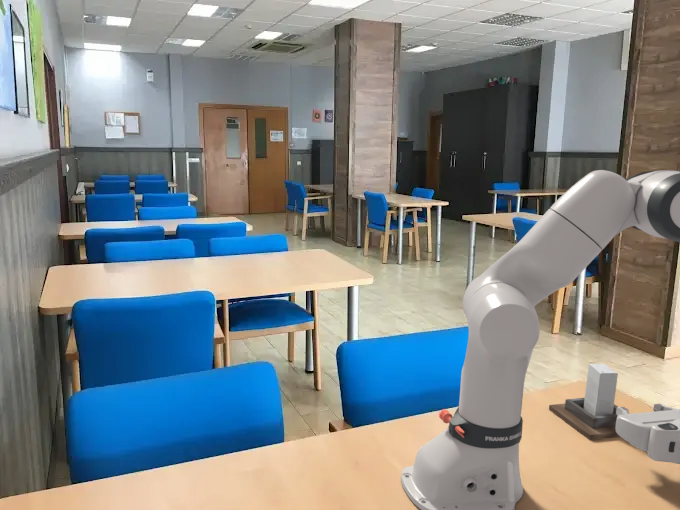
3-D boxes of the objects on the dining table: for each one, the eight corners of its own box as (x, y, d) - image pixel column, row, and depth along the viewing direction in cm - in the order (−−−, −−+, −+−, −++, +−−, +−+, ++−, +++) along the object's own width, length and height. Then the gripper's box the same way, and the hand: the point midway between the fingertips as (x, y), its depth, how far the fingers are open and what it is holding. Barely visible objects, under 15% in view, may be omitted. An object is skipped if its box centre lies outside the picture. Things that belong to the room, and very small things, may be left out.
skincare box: (612, 422, 130) (618, 373, 128) (594, 422, 130) (600, 373, 128) (599, 410, 136) (605, 363, 134) (582, 410, 136) (587, 363, 134)
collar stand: (589, 440, 125) (591, 424, 124) (548, 409, 139) (550, 395, 138) (646, 433, 128) (648, 418, 128) (601, 404, 143) (602, 391, 142)
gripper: (738, 421, 109) (680, 391, 122) (650, 430, 104) (599, 397, 117) (733, 451, 110) (675, 418, 124) (645, 461, 105) (595, 426, 118)
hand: (637, 408), depth 120 cm, fingers open, 8 cm apart
